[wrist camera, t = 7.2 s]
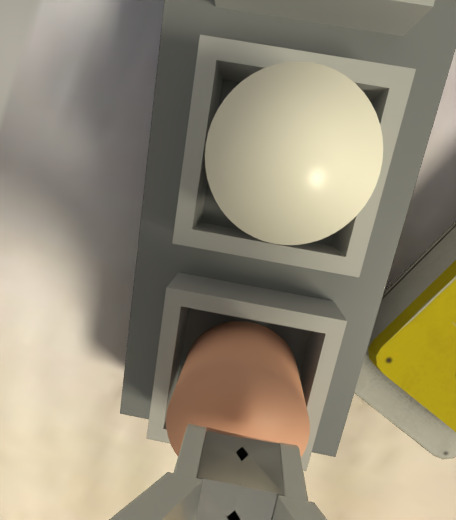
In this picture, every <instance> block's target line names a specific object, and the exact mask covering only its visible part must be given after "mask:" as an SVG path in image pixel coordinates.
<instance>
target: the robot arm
mask: <svg viewBox="0 0 456 520" xmlns="http://www.w3.org/2000/svg"><path fill="white" fill-rule="evenodd" d="M205 433H206V434H205ZM109 520H327V519H326V517H325V516H324V515H323V513H322V512H321V511H320V510H319V508H318V507H317V506H316V504H315V503H313V502H308V497H307V491H306V485H305V479H304V473H303V467H302V461H301V455H300V449H299V447H298V446H297V445H292V444H286V443H281V442H279V443H278V442H273V441H268V440H263V439H258V438H253V437H248V436H243V435H238V434H234V433H230V432H225V431H221V430H217V429H212V428H208V427H207V430H206V427H202V426H198V425H193V424H188V425H187V427H186V431H185V434H184V438H183V441H182V445H181V449H180V452H179V456H178V459H177V463H176V466H175V470H174V473H170V472H167V473H166V474H165V475H164V476H163V477H161V478H160V479H159V480H158V481H156V482H155V483H154V484H153V485H151V486H150V487H149V488H148V489H146V490H145V491H144V492H143V493H142V494H140V495H139V496H138V497H137V498H135V499H134V500H133V501H132V502H130V503H129V504H128V505H127V506H125V507H124V508H123V509H122V510H121V511H119V512H118V513H117V514H116V515H114V516H113V517H112V518H111V519H109Z"/></svg>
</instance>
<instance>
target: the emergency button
mask: <svg viewBox="0 0 456 520" xmlns="http://www.w3.org/2000/svg"><path fill="white" fill-rule="evenodd" d="M354 393H355V394H356V395H358V396H359V397H360V398H361V399H363V400H364V401H365V402H367V403H368V404H369V405H370V406H372V407H373V408H374V409H375V410H377V411H378V412H379V413H380V414H382V415H383V416H384V417H385V418H387V419H388V420H389V421H391V422H392V423H393V424H394V425H396V426H397V427H398V428H399V429H401V430H402V431H403V432H404V433H406V434H407V435H408V436H410V437H411V438H412V439H413V440H415V441H416V442H417V443H418V444H420V445H421V446H422V447H423V448H425V449H426V450H427V451H428V452H430V453H431V454H432V455H434V456H436V457H438V458H441V459H451V458H455V457H456V222H455V223H454V224H453V225H452V226H451V227H450V228H449V229H448V230H447V231H446V232H445V233H444V234H443V235H442V236H441V237H440V238H439V239H438V240H437V241H436V242H435V243H434V244H433V245H432V246H431V247H430V248H429V249H428V250H427V251H426V252H425V253H424V254H423V255H422V256H421V257H420V258H419V259H418V260H417V261H416V262H415V263H414V264H413V265H412V266H411V267H410V268H409V269H408V270H407V271H406V272H405V273H404V274H403V275H402V276H401V277H400V278H399V279H398V280H397V281H396V282H395V283H394V284H393V285H392V286H391V287H390V288H389V289H388V290H387V291H386V292H385V293H384V294H383V297H382V300H381V303H380V307H379V310H378V314H377V317H376V320H375V324H374V327H373V331H372V334H371V337H370V341H369V344H368V348H367V351H366V354H365V358H364V361H363V365H362V368H361V371H360V375H359V378H358V381H357V385H356V388H355V392H354Z"/></svg>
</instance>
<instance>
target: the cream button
mask: <svg viewBox="0 0 456 520" xmlns="http://www.w3.org/2000/svg"><path fill="white" fill-rule="evenodd" d="M382 161H383V136H382V131H381V126H380V123H379V120H378V117H377V114H376V112H375V110H374V108H373V106H372V104H371V102H370V101H369V99H368V98H367V96H366V95H365V93H364V92H363V91H362V90H361V89H360V88H359V87H358V86H357V85H356V83H354V82H353V81H352V80H351V79H349V78H348V77H347V76H345V75H344V74H342V73H340V72H339V71H337V70H335V69H332V68H330V67H327V66H325V65H321V64H317V63H313V62H303V61H294V62H284V63H279V64H275V65H272V66H269V67H266V68H263V69H261V70H259V71H257V72H255V73H253V74H252V75H250V76H249V77H247V78H246V79H244V80H243V81H242V82H240V83H239V84H238V85H237V86H236V87H235V88H234V89H233V90H232V91H231V92H230V93H229V94H228V96H227V97H226V98H225V99H224V101H223V102H222V104H221V105H220V107H219V108H218V110H217V112H216V114H215V116H214V118H213V120H212V123H211V126H210V129H209V131H208V136H207V141H206V148H205V168H206V174H207V180H208V183H209V186H210V190H211V192H212V194H213V196H214V199H215V201H216V202H217V204H218V205H219V207H220V209H221V210H222V211H223V213H224V214H225V215H226V216H227V218H228V219H229V220H230V221H231V222H232V223H234V224H235V225H236V226H237V227H238V228H240V229H241V230H242V231H244V232H245V233H247V234H249V235H251V236H253V237H255V238H257V239H260V240H262V241H265V242H269V243H273V244H280V245H300V244H307V243H311V242H314V241H318V240H321V239H323V238H326V237H328V236H330V235H332V234H334V233H335V232H337V231H339V230H340V229H342V228H343V227H344V226H346V225H347V224H348V223H349V222H350V221H351V220H353V219H354V218H355V217H356V216H357V215H358V213H359V212H360V211H361V210H362V209H363V207H364V206H365V205H366V203H367V202H368V200H369V198H370V197H371V195H372V193H373V191H374V189H375V187H376V184H377V181H378V178H379V175H380V171H381V167H382Z"/></svg>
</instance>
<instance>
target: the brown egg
mask: <svg viewBox="0 0 456 520" xmlns="http://www.w3.org/2000/svg"><path fill="white" fill-rule="evenodd" d="M188 424H193V425H198V426H202V427H206V430H207V427H208V428H212V429H217V430H221V431H225V432H230V433H234V434H238V435H243V436H248V437H253V438H258V439H263V440H268V441H273V442H278V443H279V442H281V443H286V444H292V445H297V446H298V447H299V449H300V455H301V457H302V455H303V453H304V451H305V450H306V447H307V444H308V440H309V435H310V423H309V416H308V412H307V407H306V403H305V398H304V394H303V390H302V385H301V381H300V377H299V372H298V368H297V364H296V360H295V357H294V355H293V353H292V351H291V349H290V347H289V346H288V344H287V343H286V342H285V341H284V340H283V339H282V338H281V337H280V336H279V335H278V334H276V333H275V332H274V331H272V330H270V329H268V328H267V327H265V326H262V325H259V324H256V323H252V322H245V321H234V322H227V323H223V324H219V325H217V326H214V327H212V328H211V329H209V330H207V331H206V332H204V333H203V334H202V335H201V336H200V337H199V338H198V339H197V340H196V341H195V342H194V344H193V345H192V347H191V349H190V350H189V353H188V356H187V358H186V361H185V363H184V366H183V369H182V371H181V374H180V376H179V379H178V382H177V384H176V387H175V389H174V392H173V395H172V397H171V400H170V402H169V405H168V409H167V413H166V430H167V434H168V438H169V441H170V443H171V446H172V447H173V449H174V451H175V453H176V454H177V456H179V452H180V449H181V445H182V441H183V438H184V434H185V431H186V427H187V425H188ZM205 434H206V433H205Z"/></svg>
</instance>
